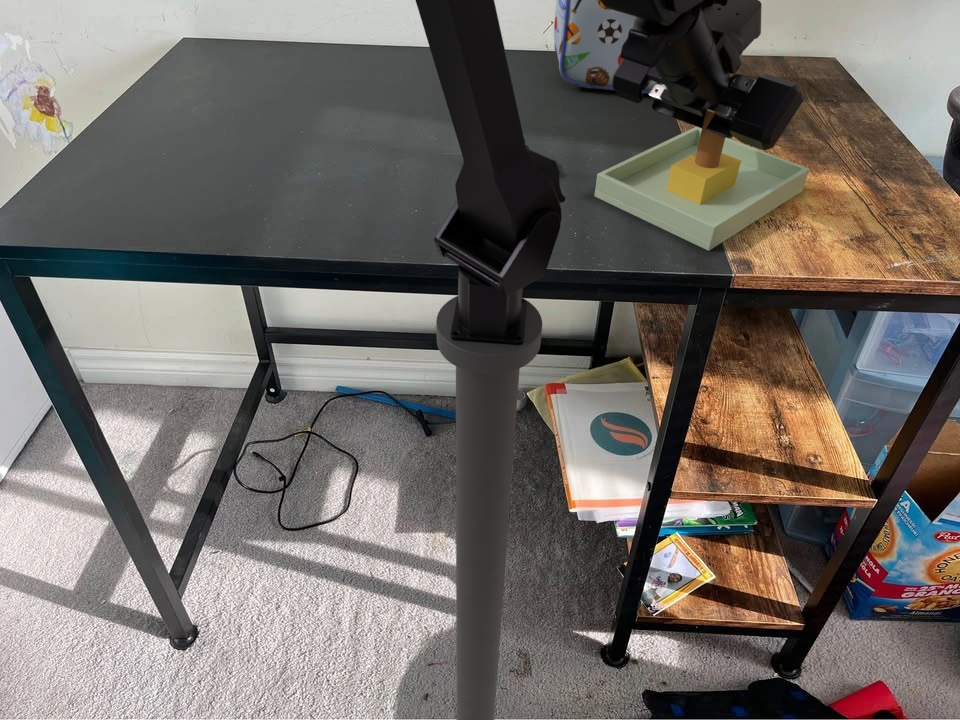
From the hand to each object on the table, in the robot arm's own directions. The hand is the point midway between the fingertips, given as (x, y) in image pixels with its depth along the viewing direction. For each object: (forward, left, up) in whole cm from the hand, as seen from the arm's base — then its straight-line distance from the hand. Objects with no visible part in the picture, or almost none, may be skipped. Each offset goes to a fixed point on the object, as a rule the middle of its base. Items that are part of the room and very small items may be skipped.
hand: (720, 130), depth 81 cm
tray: (-1, +1, -7) cm, 7 cm away
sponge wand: (-1, +1, -6) cm, 7 cm away
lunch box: (+32, +5, -7) cm, 33 cm away
